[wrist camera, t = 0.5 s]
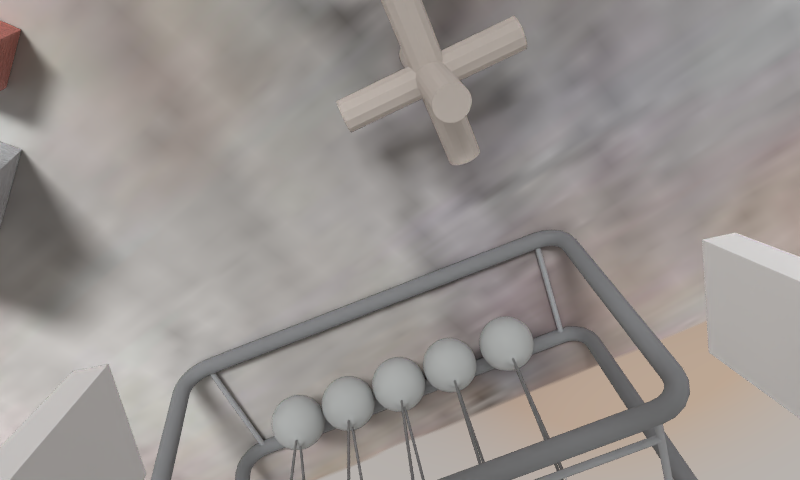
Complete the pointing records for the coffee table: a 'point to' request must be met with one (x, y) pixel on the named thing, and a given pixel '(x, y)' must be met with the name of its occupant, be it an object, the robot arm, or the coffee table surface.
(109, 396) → the robot arm
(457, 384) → the newton's cradle
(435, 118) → the beige peg jack
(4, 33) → the ratchet
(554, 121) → the coffee table surface
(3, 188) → the light grey block
